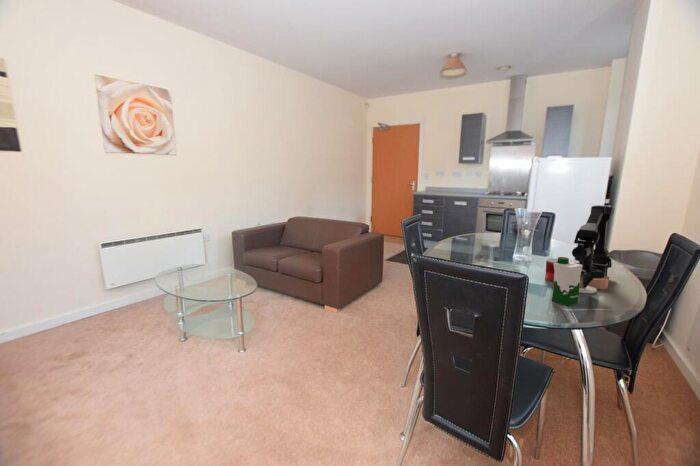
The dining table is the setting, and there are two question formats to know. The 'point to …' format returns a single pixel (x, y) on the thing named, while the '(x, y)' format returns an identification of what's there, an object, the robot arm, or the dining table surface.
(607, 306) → the dining table surface
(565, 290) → the milk carton
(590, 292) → the lid
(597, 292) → the mat
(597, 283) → the bowl
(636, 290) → the dining table surface
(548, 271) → the canned food
